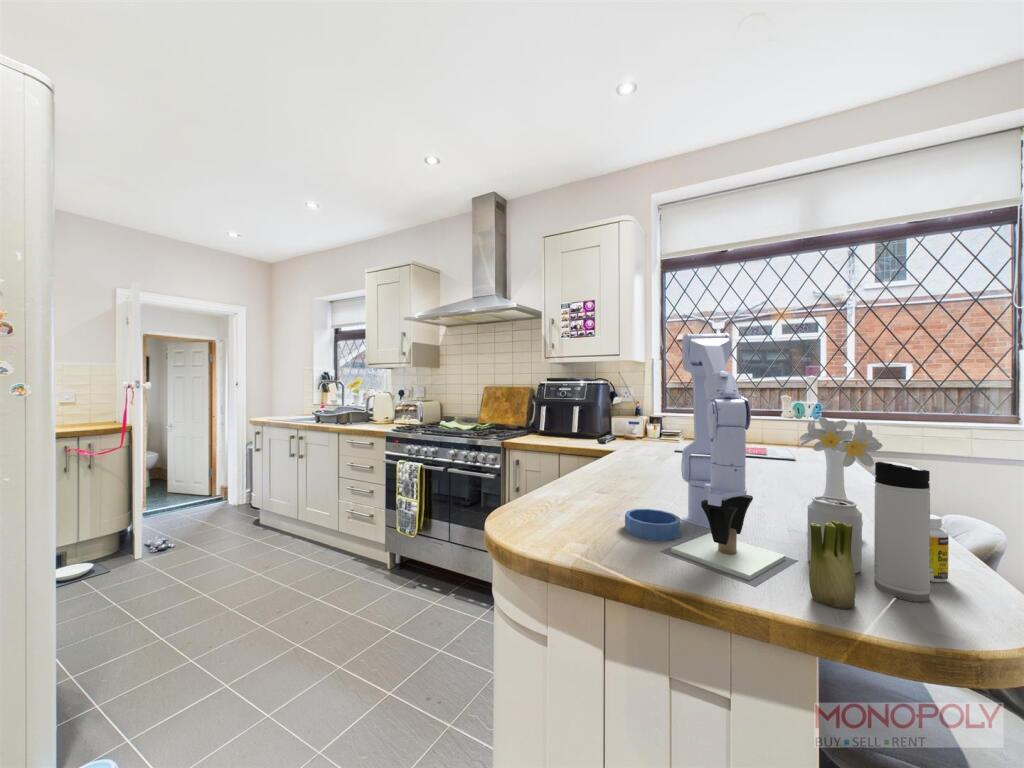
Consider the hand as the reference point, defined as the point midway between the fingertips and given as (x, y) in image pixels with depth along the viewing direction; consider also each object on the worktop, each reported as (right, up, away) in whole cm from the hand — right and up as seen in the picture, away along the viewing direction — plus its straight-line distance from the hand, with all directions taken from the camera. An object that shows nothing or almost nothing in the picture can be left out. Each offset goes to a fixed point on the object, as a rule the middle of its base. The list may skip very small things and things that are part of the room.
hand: (727, 537), depth 76 cm
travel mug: (+20, -4, -12) cm, 24 cm away
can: (+17, -4, -4) cm, 17 cm away
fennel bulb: (+7, -4, -16) cm, 18 cm away
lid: (0, -3, 0) cm, 3 cm away
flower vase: (+31, -4, +13) cm, 33 cm away
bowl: (-9, -4, +13) cm, 16 cm away
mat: (0, -4, 0) cm, 4 cm away
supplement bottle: (+30, -4, -7) cm, 31 cm away
